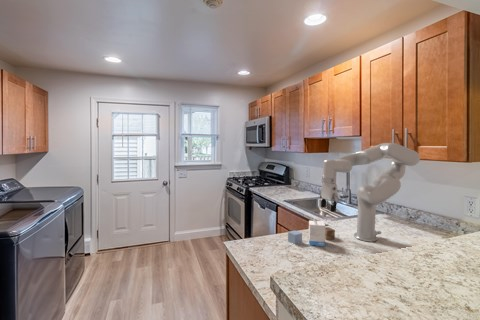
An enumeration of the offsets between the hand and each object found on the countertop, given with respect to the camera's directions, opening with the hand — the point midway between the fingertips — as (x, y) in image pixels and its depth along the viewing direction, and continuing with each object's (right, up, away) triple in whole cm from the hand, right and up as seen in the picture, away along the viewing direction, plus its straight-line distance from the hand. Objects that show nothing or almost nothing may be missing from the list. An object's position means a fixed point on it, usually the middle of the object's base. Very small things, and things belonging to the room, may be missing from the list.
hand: (328, 209), depth 147 cm
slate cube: (-21, -18, -6) cm, 28 cm away
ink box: (-9, -18, -7) cm, 21 cm away
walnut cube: (0, -17, +1) cm, 17 cm away
